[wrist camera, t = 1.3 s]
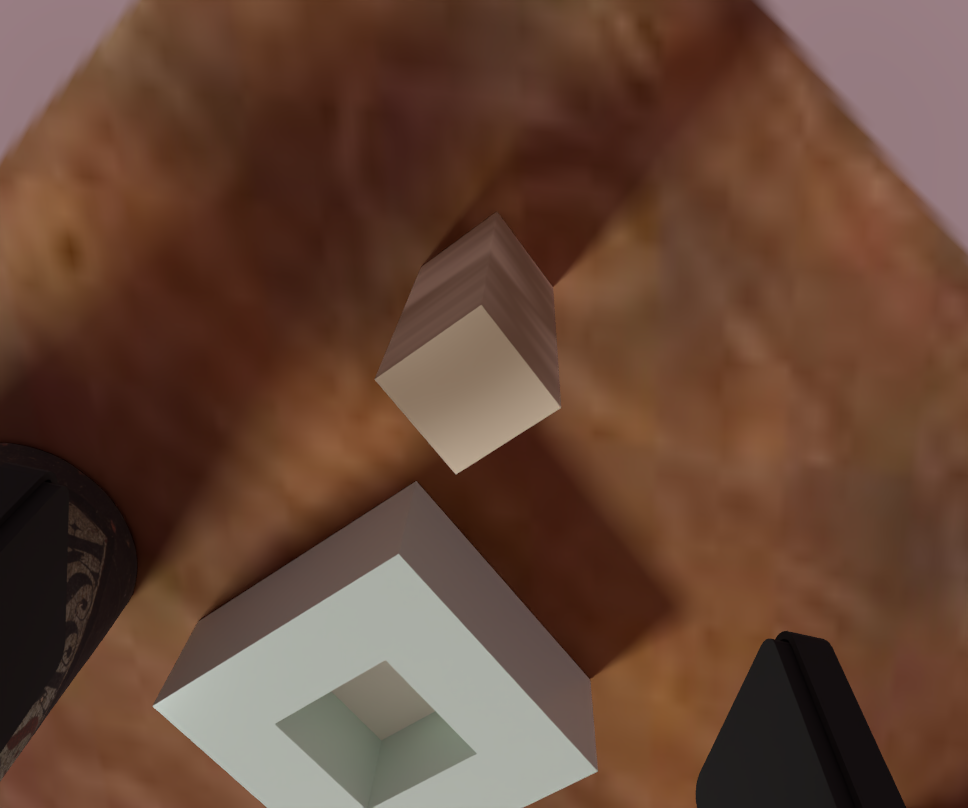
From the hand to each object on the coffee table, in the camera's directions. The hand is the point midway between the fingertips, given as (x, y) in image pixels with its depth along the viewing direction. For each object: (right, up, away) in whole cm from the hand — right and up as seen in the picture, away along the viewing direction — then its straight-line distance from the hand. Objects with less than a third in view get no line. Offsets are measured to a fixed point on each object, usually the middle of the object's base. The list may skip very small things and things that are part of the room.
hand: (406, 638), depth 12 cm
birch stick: (+1, +7, +16) cm, 18 cm away
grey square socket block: (-2, -7, +23) cm, 24 cm away
